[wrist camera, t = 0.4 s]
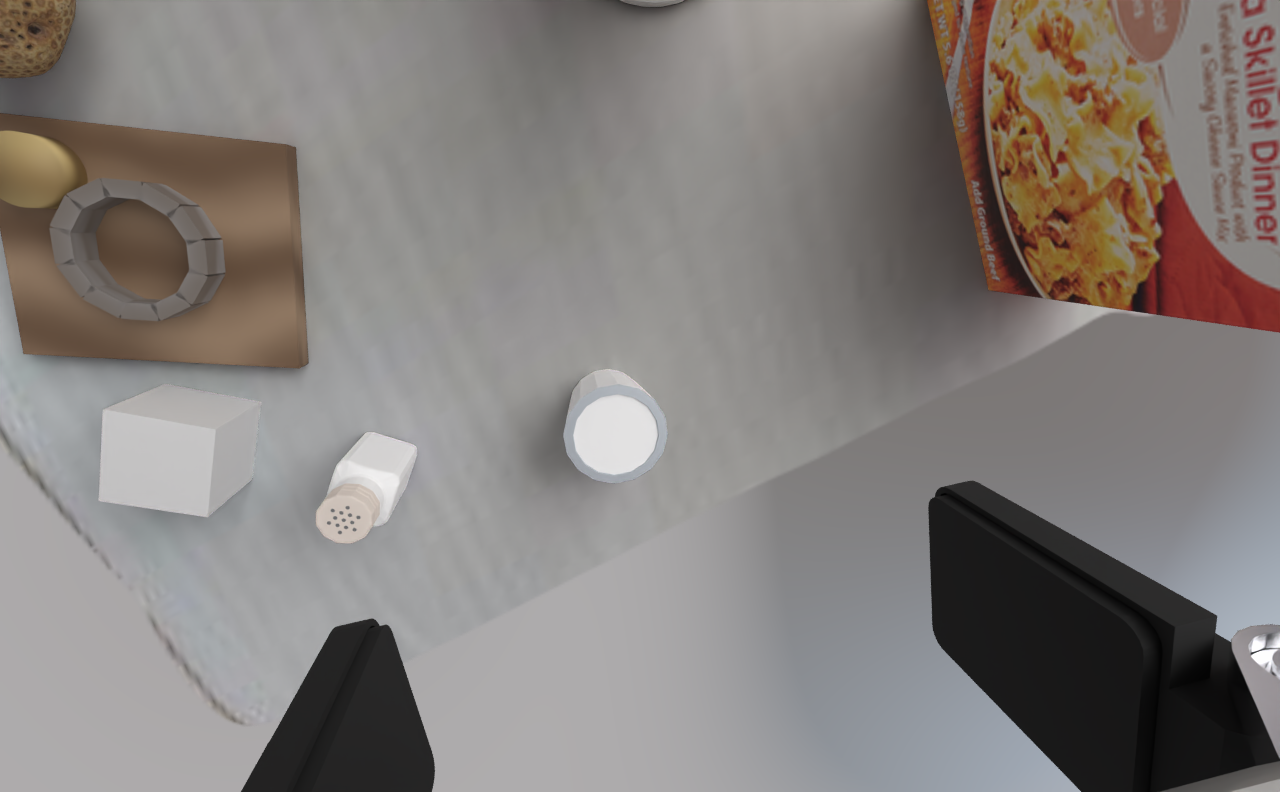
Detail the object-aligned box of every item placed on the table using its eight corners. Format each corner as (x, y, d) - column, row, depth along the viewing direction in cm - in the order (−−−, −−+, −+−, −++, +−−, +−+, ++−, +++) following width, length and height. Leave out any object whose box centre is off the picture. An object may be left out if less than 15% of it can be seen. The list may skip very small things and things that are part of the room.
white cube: (253, 478, 43) (207, 517, 37) (160, 463, 41) (98, 501, 36) (261, 400, 41) (215, 429, 36) (166, 382, 40) (102, 409, 34)
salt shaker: (406, 490, 44) (369, 558, 35) (351, 475, 44) (299, 540, 34) (421, 443, 44) (388, 500, 35) (366, 426, 43) (316, 480, 34)
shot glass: (560, 447, 45) (562, 485, 39) (561, 359, 43) (564, 384, 37) (648, 446, 46) (665, 483, 40) (653, 361, 44) (671, 385, 38)
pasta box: (921, -24, 40) (1858, -656, 11) (1028, -71, 40) (2217, -808, 11) (988, 290, 47) (1668, 388, 18) (1079, 249, 47) (1892, 285, 19)
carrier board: (1, 115, 35) (-57, 103, 31) (295, 147, 37) (270, 139, 34) (43, 349, 38) (-5, 360, 35) (308, 363, 41) (287, 375, 38)
